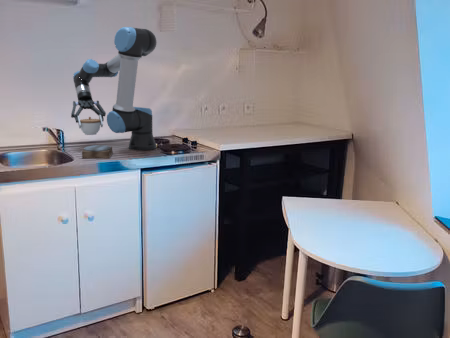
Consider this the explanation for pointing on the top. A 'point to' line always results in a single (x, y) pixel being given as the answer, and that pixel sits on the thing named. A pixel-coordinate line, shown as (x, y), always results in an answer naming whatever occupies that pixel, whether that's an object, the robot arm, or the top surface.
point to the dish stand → (97, 151)
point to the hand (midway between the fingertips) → (91, 126)
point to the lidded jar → (90, 126)
